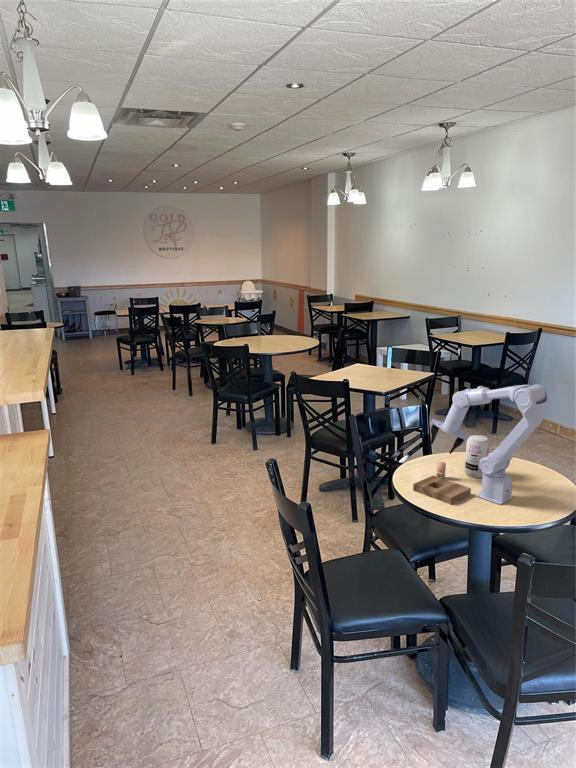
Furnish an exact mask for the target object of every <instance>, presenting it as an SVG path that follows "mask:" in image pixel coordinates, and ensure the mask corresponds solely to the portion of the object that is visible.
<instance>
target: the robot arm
mask: <svg viewBox="0 0 576 768" xmlns="http://www.w3.org/2000/svg"><path fill="white" fill-rule="evenodd" d="M507 398H509V399H510V401H512V402H514V403H515V404H516V406H517V408H518V410H519V412H520V413H521V415H522V418H521V420H519V422H518V423H517V424H516V425H515V427H514V428H513V429H512V430H511V431H510V433H509V434H508V435H507V436H506V437H505V438H504V440H502V442H501V443H500V444H499V445H498V446H497V448H496V449H494V450H493V451H492V452H491V453H489V454H488V456H487V457H485V458H482V459H481V460H480V463H479V467H480V470H481V471H482V474H483V478H481V479H482V481H481V492H478V493H477V494H476V495H475V496H476V497H477V498H480V499H483V500H486V501H488V502H492V503H495V504H498V505H504V504H505V503H506V502H508V501H510V500H511V499H513V497H512V492H513V480H512V478H511V477H510V476H508V475H506V469H508V467H509V466H510V462H511V461H512V459H513V455H514V453H515V452H516V451H517V450H518V449H519V448H520V447H521V446H522V445H523V443H525V441H526V440H527V439H528V437H530V436H531V435H532V433H533V432H534V431H535V430H536V429H537V428H538V426H540V424H541V423H542V422H543V420H544V415H545V411H546V405H547V404H548V401H549V396H548V392H547V390H546V388H545V386H543V385H541V384H538V383H537V384H532V385H531V384H521V385H520V384H519V385H518V384H517V385H512V386H505V387H501V388H496V389H490V388H489V387H487V386H484V385H480V386H477V388H471V387H470V388H466V389H464V390H461V391H460V390H459V391H456V392H455V393H453V395H452V404H451V407H450V408H449V410H448V413H447V415H446V417H445V419H444V422H443V421H440V420H437V419H435V418H432V419H431V421H430V423H429V425H430V426H431V427H430V434H431V438H430V445H433V444H434V442H435V440H436V437H437V435H438V433H439V431H440V430H441V431H443V432H444V433H446V434H448V435H450V436H453V437H456V439H455V440H454V443H453V445H452V447H451V449H450V450H449V454H450V455H452V453H453V452H454V451H455V450H456V449H457V448H459V446H461V445H462V444H463V442H464V443H467V440H468V438H469V436H470V435H468V434H466V433H464V432H463V431H461V430H460V427H461V425H462V424H463V421H464V419H465V417H466V415H467V412H468V411H469V408H470V407H471V406H478V405H486V404H487V405H488V404H489V403H491V401H492V400H498V399H499V400H500V399H507Z"/></svg>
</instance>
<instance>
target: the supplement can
mask: <svg viewBox="0 0 576 768" xmlns="http://www.w3.org/2000/svg"><path fill="white" fill-rule="evenodd" d="M468 436H469V438H468V440H467V442H465V444H466V446H465V461H464V462H465V463H464V474H465V475H466V476H468V477H470V478H475V479H482V478H483V474H482V471H481V470H480V467H479V463H480V460H481V459H482V458H485V457H487V456H488V455H489V454H490V453H489V450H490V441H489V438H488V437H487V436H484V435H479V434H472V435H468Z"/></svg>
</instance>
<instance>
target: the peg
mask: <svg viewBox="0 0 576 768" xmlns="http://www.w3.org/2000/svg"><path fill="white" fill-rule="evenodd" d="M446 465H447V464H446V462H444V461H438V462H436V476H437V477H440V478H442V479H445V477H446V470H447V469H446Z"/></svg>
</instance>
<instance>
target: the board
mask: <svg viewBox="0 0 576 768" xmlns="http://www.w3.org/2000/svg"><path fill="white" fill-rule="evenodd" d="M412 489H413V490H412V491H414V492H416V491H417V493H420V494H422V495H425V496H427V497H430V498H432V499H435V500H437V501H440V502H443V503H445V504H448V505H453V504H455V503H457V502H459V501H461V500H463V499H465V498H467V497H469V496H471V492H472V487H468V486H466V485H463V484H460V483H457V482H453V481H450V480H448V479H445V478H444V479H442V478H440V477H438V476H437V475H431V476H428V477H426V478H423V479H422V480H420V481H417V482H414V483H413V485H412Z"/></svg>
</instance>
